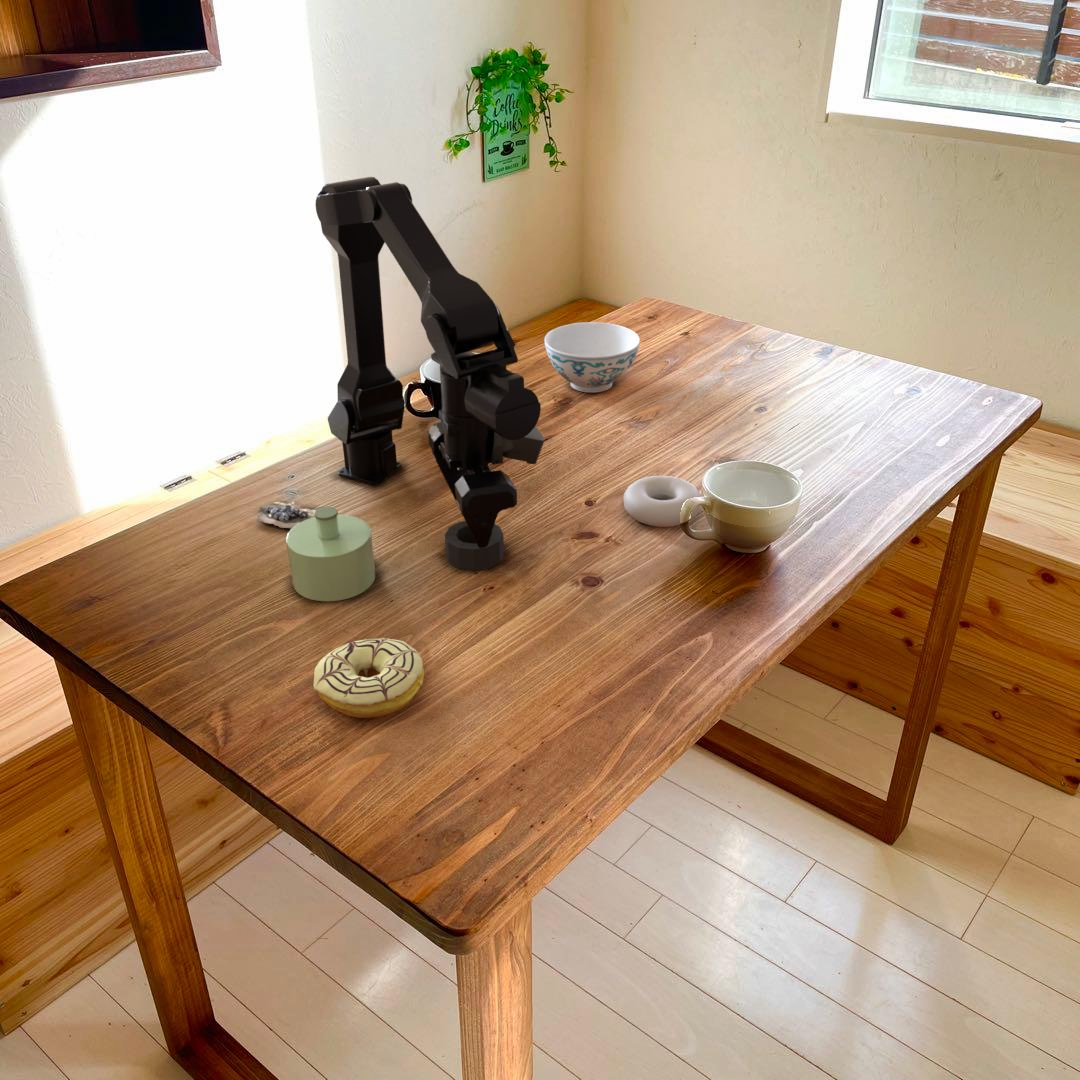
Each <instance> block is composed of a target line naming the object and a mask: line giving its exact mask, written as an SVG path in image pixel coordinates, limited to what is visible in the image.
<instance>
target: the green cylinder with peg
mask: <svg viewBox="0 0 1080 1080" xmlns="http://www.w3.org/2000/svg"><path fill="white" fill-rule="evenodd" d="M315 510H316V511H315V512H314V515H315V517H313V518H310V519H307V520H304V521H302V522H300V523H299V524H297V525H296V526H294V527H293V528H292V529H291V528H290V530H289V531H288V532H287V535H286V539H285V541H286V549H287V555H288V563H289V568H290V575H291V582H292V587H293V590H295V592H296V593H297V594H299V595H300V596H301V597H303V598H306V599H308V600H311V601H316V602H338V601H344V600H347V599H351V598H354V597H356V596H358V595H361V594H362V593H364V592H366V591H367V590H368V589H369V588H370V587H371V586H372V585H373V584H374V581H375V580H376V565H375V556H374V555H375V554H374V546H373V537H372V528H371V526H370V525H369V524H368V522H366V521H365V520H364V519H361V518H360V517H357V516H354V515H350V514H344V513H343V514H342V513H338V509H337V508H336V507H334V506H322V507H319V508H317V509H315Z"/></svg>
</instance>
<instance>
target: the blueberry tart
mask: <svg viewBox="0 0 1080 1080" xmlns="http://www.w3.org/2000/svg"><path fill="white" fill-rule="evenodd" d="M301 506H302V504H298V505H297V504H295V501H292V502H290V501H286V500H279V501H278V500H277V501H274V502H271V503H270V504H268V505H263V506H260V507H259V509H260V510H258V513H257V514H259V515H258V516H256V521H261V522H263V523H265V524H273V525H274V526H275V527H276V526H278V527H279V528H281V529H284V528H285V529H290V530H291V529H292V528H293V527H294V526H296V525H297V524H299V523H300V522H302V521H304V520H307V519H310V518H313V517H315V515H314V512H315V511H316V510H317V509H312V508H311V509H309V508H308V507H305V508H302V507H301Z"/></svg>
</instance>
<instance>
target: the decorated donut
mask: <svg viewBox="0 0 1080 1080" xmlns="http://www.w3.org/2000/svg"><path fill="white" fill-rule="evenodd" d="M424 669H425V668H424V665H423V659H422V656H421V654H420V653H419V652H418V651H417V650H416V649H415V648H414V647H413V646H411V645H409V644H408V643H407V642H405V641H403V640H400V639H392V638H388V637H376V638H364V639H358V640H354V641H351V642H348V643H345V644H343V645H341V646H339V647H337V648H335V649H333V650H331V651H330V652H328V653H327V654H326V655H324V656H323V657H322V658H321V659H320V661H318V663H317V664H316V666H315V668H314V673H313V674H314V675H313V689H314V691H315V692H317V695H318V696H319V698H320V700H321V701H323V702H324V703H325V704H326V705H328V706H329V707H330V708H331V709H333V710H335V711H337V712H338V713H341V714H344V715H346V716H348V717H353V718H357V719H370V718H377V717H378V718H379V717H383V716H386V715H390V714H392V713H395V712H398V711H400V710H402V709H403V708H404V707H405V706H407V705H408V704H409V703H410V702H411V701H412V700H413V698H414V697H415V695H416V694H417V693H418V692H419V691H420V687H421V686H422V685H423V683H424V676H425V670H424Z"/></svg>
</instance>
